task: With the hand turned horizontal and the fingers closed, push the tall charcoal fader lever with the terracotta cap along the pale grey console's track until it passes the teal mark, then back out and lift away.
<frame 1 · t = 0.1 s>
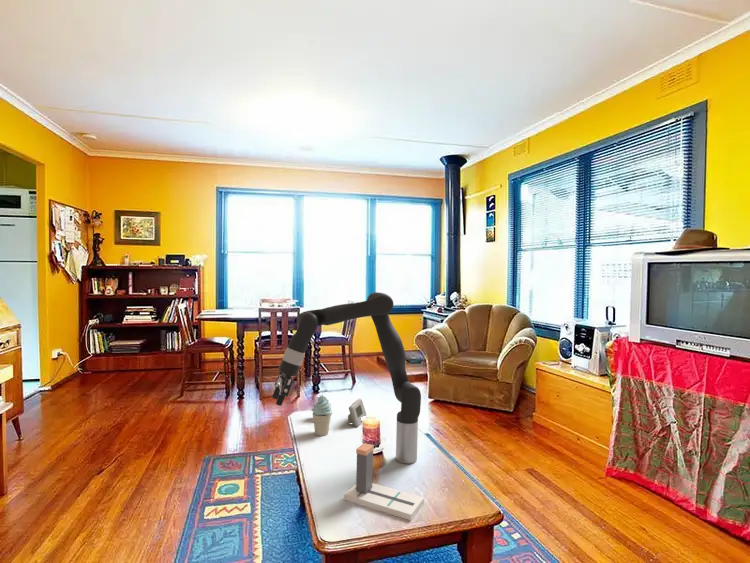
hand: (276, 401, 164), 31 cm above the table, tool tilted 20°, fingers open, 8 cm apart
cup: (323, 419, 233), on the table
fader: (364, 468, 157), point 10 cm above the table, slide at 0.0 cm
digital clock: (357, 422, 230), on the table
ice cream cone: (321, 433, 214), on the table
console: (383, 501, 154), on the table
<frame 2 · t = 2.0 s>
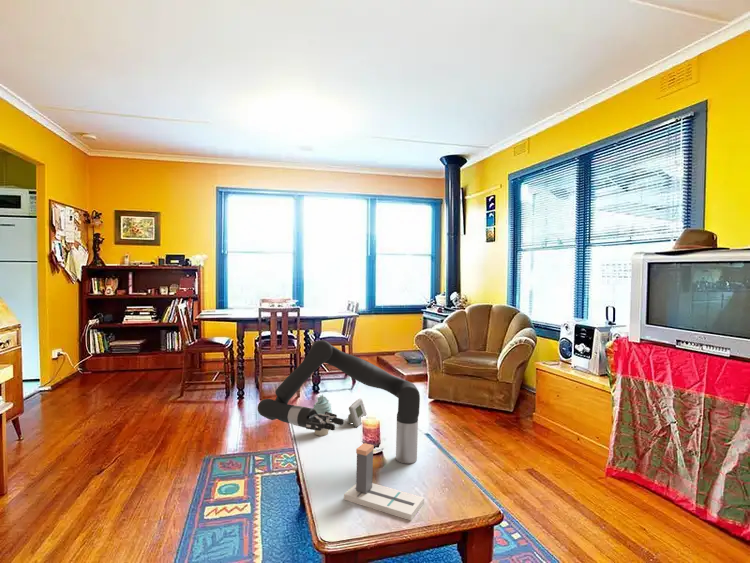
hand: (338, 424, 161), 24 cm above the table, tool horizontal, fingers open, 5 cm apart
nothing on the table moved.
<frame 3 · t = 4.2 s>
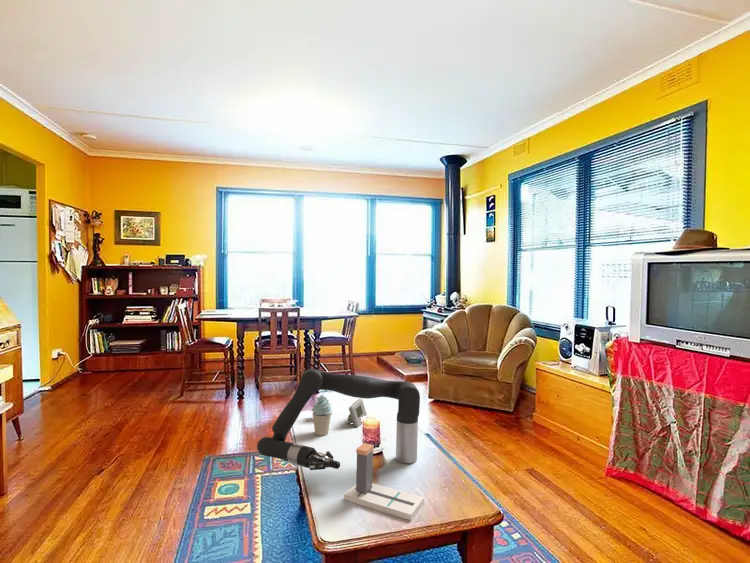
hand: (339, 465, 162), 9 cm above the table, tool horizontal, fingers closed
nothing on the table moved.
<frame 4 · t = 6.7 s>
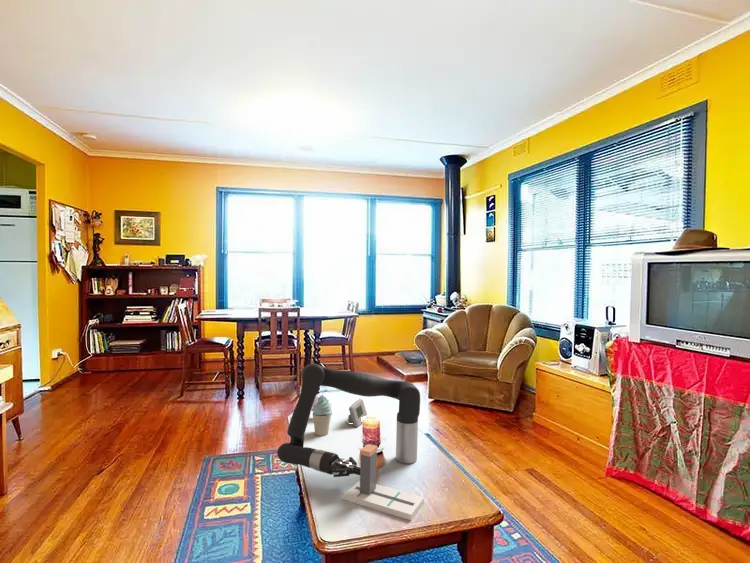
hand: (363, 472, 157), 8 cm above the table, tool horizontal, fingers closed
fader: (368, 469, 156), point 10 cm above the table, slide at 1.6 cm, touching gripper
everything else where it was.
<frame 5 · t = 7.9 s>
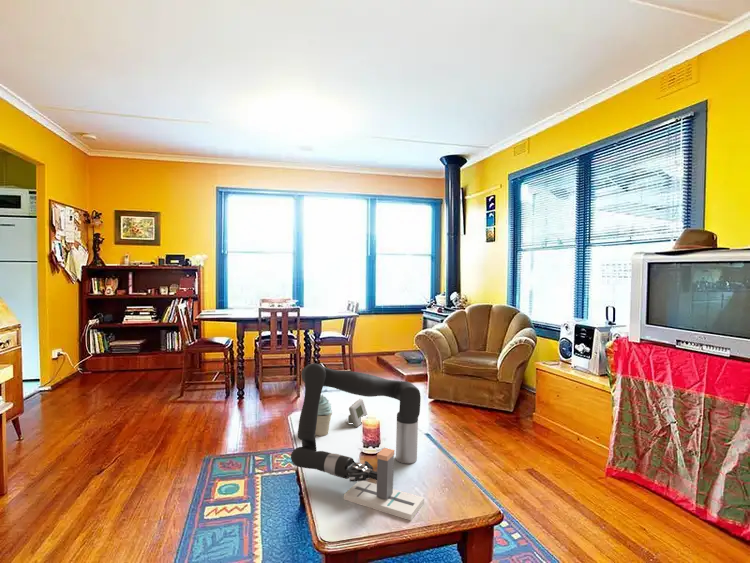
hand: (380, 476, 154), 8 cm above the table, tool horizontal, fingers closed
fader: (385, 473, 153), point 10 cm above the table, slide at 8.3 cm, touching gripper
everything else where it was.
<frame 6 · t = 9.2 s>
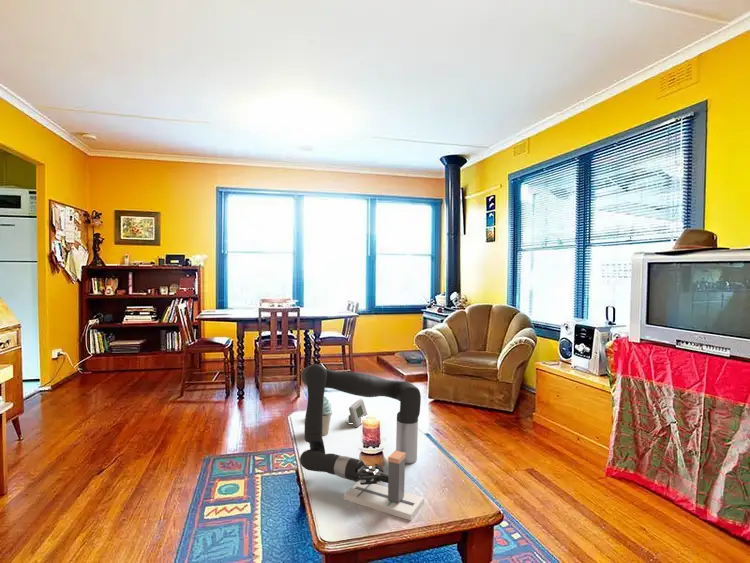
hand: (391, 479, 152), 8 cm above the table, tool horizontal, fingers closed
fader: (396, 476, 151), point 10 cm above the table, slide at 12.8 cm, touching gripper
everything else where it was.
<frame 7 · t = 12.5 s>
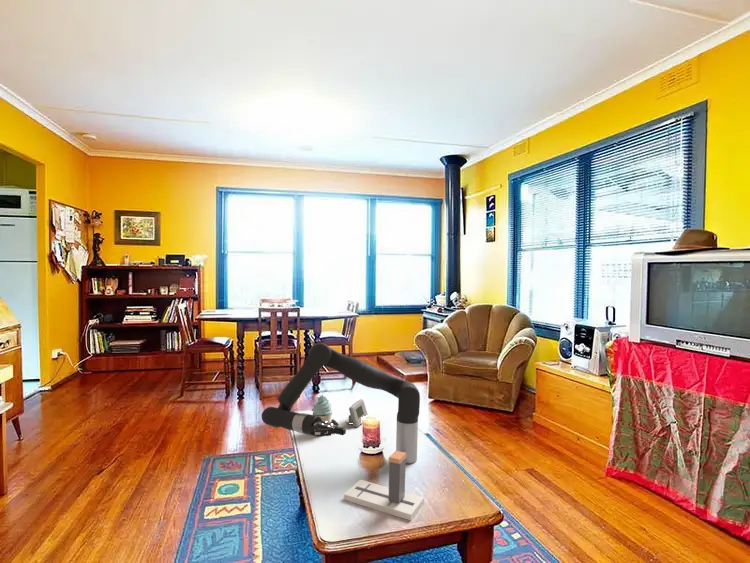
hand: (344, 431, 160), 22 cm above the table, tool horizontal, fingers closed
fader: (397, 476, 151), point 10 cm above the table, slide at 13.0 cm
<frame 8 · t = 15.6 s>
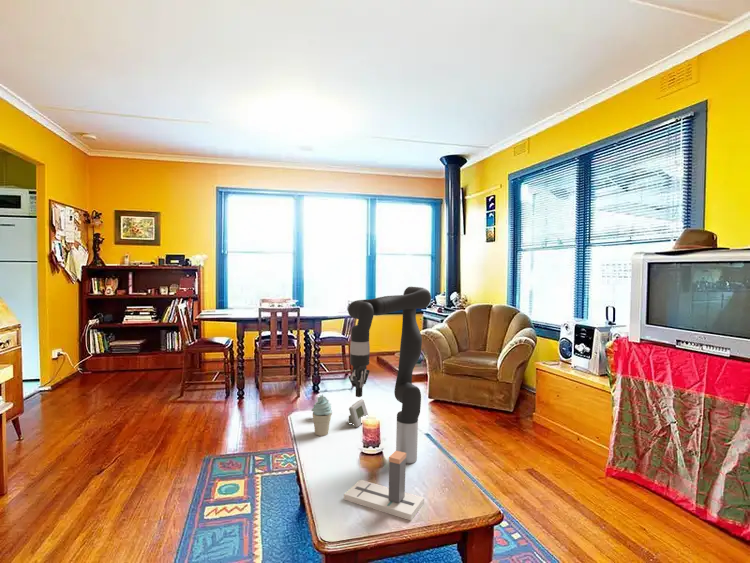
hand: (358, 396, 167), 33 cm above the table, tool pointing down, fingers closed
at the end: fader slide at 13.0 cm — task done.
